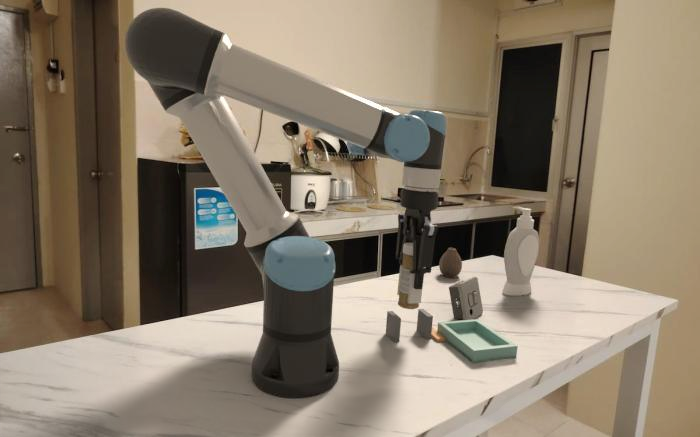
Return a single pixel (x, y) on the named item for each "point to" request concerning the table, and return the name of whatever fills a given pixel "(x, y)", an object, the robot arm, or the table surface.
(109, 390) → the table surface
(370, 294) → the table surface
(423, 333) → the grey and orange blocks
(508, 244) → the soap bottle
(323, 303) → the robot arm
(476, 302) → the electrical switch
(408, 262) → the sprinkles bottle
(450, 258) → the vase
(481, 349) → the parts tray
